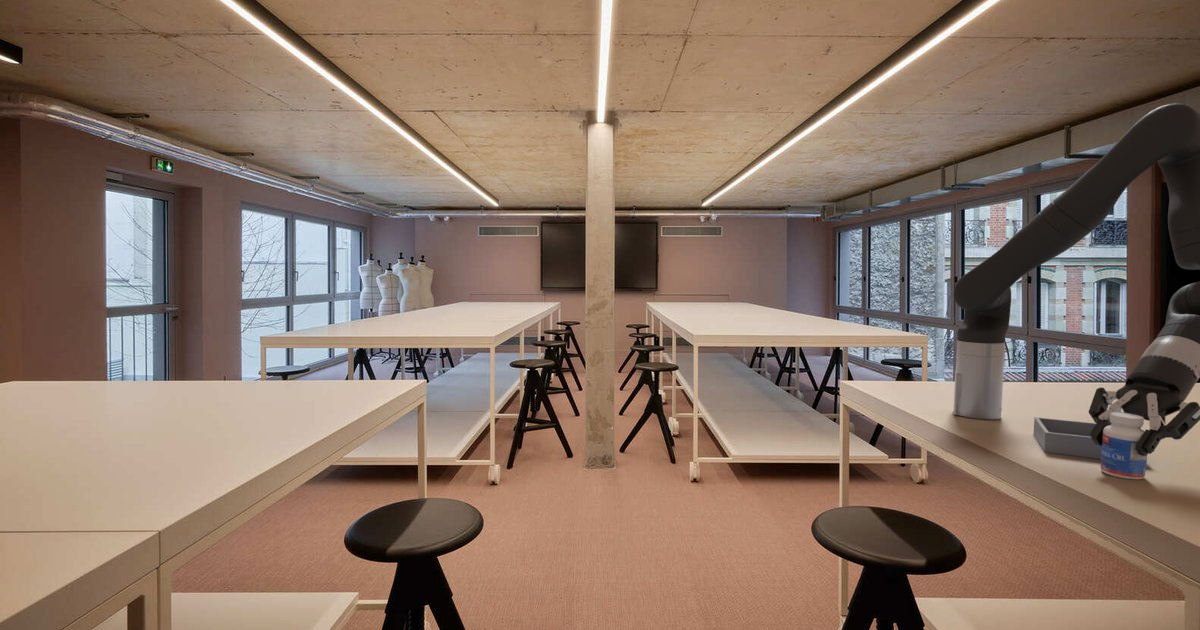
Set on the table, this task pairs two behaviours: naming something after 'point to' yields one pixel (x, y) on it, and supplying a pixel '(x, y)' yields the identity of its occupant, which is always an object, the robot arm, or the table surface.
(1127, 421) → the pill bottle
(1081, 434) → the tray
